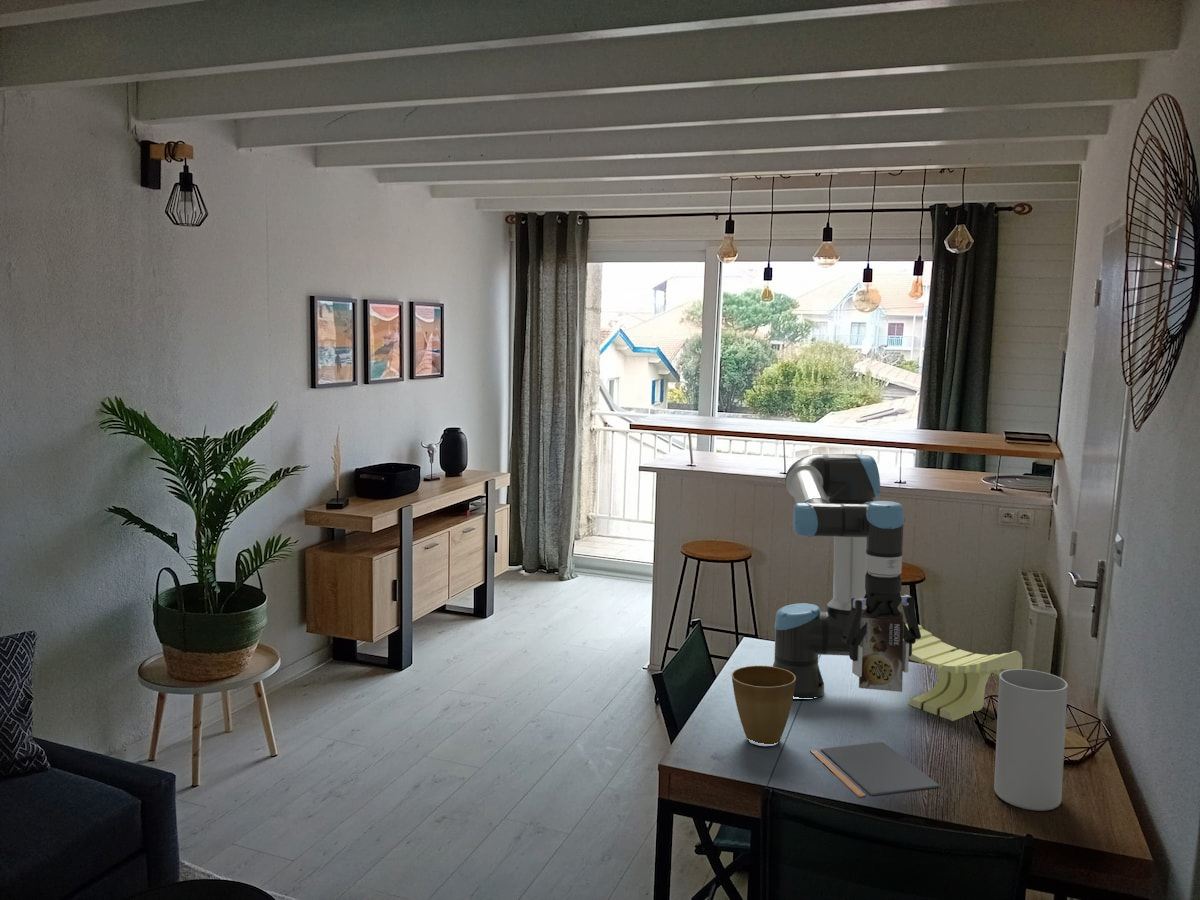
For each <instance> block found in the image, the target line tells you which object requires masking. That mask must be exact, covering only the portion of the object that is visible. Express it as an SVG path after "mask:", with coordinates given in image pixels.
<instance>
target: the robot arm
mask: <svg viewBox="0 0 1200 900" xmlns="http://www.w3.org/2000/svg"><path fill="white" fill-rule="evenodd" d="M784 480H785V482H784V483H785V487H786V490H787V492H788V493H789V495H790V496H791V497H793V498H794V499H793V500H794V501H795V503H794V505H793V507H792V529H793V533H794V534H795V535H796V536H802V537H803V536H805V537H833V578H832V579H833V580H832V583H833V586H832V588H833V589H832V590H833V591H832V595H833V596H832V599H830V600H829V602H828V603H827V605H826V608H827V609H826V610H821V609H820V607H819V606H818V605H816V604H814V603H806V602H803V603H801V602H800V603H791V604H789V605H785V606H784V605H783V606H782V607H780V608H779V609H778V610H777V611H776V614H775V623H774V629H775V631H774V632H775V633H774V661H773V665H772V667H777V668H782V669H785V670H788V671H790V672H792V673H793V674H794V675H795V676H796V682H795V689H794V695H793V696H794V697H799V698H814V697H819V696H821V695H822V694H823V693H824V694H825V683H824V679H823V676H822V673H821V670H820V666H819V655H822V656H847V657H849V658H850V659H849V660H851V661H852V668H851V669H852V672H851V673H852V674H854V675H855V676H856V677H858V678H859V677H862V651H863V647H861V646H860V643H861V641H862V640H863V638H864V636H865V635H866V631H867V623H866V624H865V625H864V626H863V627H862V629H860V616H861V613H862V609H865V611H864V612H863V613H864V614H865V615H867V616H868V617H870V618H875V617H878V616H882V615H891V614H894V615H901V614H900V612H901V611H900V610H899V609H898V607H899V606H900V605H902V609H903V615H904V616H905V617H904V619H905V621H906V623H905V622H904V629H903V639H904V640H903V673H905V674H906V673H909V660H910V659H909V656H911V655H912V644H914V643H915V642H916V639H920V638H921V634H920V630H919V626H918V625H919V623H918V620H917V615H916V612H915V607H914V604H915V603H914V602H915V599H914V597H913V596H911V595H909V594H907V593H905V594H903V595H901V592H902V578H903V577H902V575H901V574H902V572H903V571H902V570H903V568H902V567H903V545H904V527H905V526H904V523H905V516H904V515H905V514H904V512H905V511H904V508H905V507H904V506H903V505H902V504H901V503H900V502H895V501H890V500H889V501H888V500H876V499H879V498H880V496H881V479H880V472H879V467H878V464H877V461H876V460H875V458H874V457H873V456H872V455H870V454H869V455H868V454H857V453H855V454H854V453H853V454H852V453H851V454H850V453H845V454H844V453H843V454H841V453H837V454H835V453H833V454H832V453H826V454H825V453H815V454H810V455H806V456H803V457H802V458H800V459H798V460H796V461H795V462H794V463H792V465H791V466H790V467H789V468H788V470H787V471H786V473H785V478H784ZM874 499H875V500H874ZM868 613H872V614H871V615H870V614H868ZM906 624H907V625H908V628H907V626H906ZM908 629H909V630H908ZM824 694H823V695H824ZM823 695H822V696H823ZM822 696H821V697H822ZM819 698H820V697H819Z"/></svg>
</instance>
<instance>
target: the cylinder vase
mask: <svg viewBox="0 0 1200 900" xmlns="http://www.w3.org/2000/svg"><path fill="white" fill-rule="evenodd" d="M1068 687H1069V684H1068V682H1067V681H1066V680H1065V679H1064V678H1062V677H1060V676H1057V675H1054V674H1053V673H1048V672H1046V671H1045V672H1044V671H1039V670H1035V669H1027V668H1026V669H1023V668H1022V669H1011V670H1006V671H1003V672H1001V673H1000V674H999V675H998V696H997V697H998V698H997V699H998V701H997V717H996V718H997V720H996V737H995V739H996V741H995V764H994V778H993V779H994V784H993V786H994V787H993V790H994V792H995V794H996V796H998V798H1000V799H1001V800H1002V801H1004V802H1005V803H1007V804H1009V805H1011V806H1014V807H1017V808H1020V809H1023V810H1029V811H1037V812H1038V811H1040V812H1044V811H1045V812H1046V811H1050V810H1055V809H1056V808H1058V807H1059V806H1060V805H1061V803H1062V799H1063V798H1062V795H1063V778H1064V760H1065V759H1064V757H1065V744H1066V743H1065V741H1066V722H1067V708H1068V707H1067V703H1068Z"/></svg>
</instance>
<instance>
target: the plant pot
mask: <svg viewBox="0 0 1200 900" xmlns="http://www.w3.org/2000/svg"><path fill="white" fill-rule="evenodd" d="M731 682H732V687H733V694H734V699H735V704H736V708H737V709H736V710H737V713H738V716H739V719H740V723H741V726H742V728H743V732H744V734H745V738H746V739H747V738H748V739H750V740H753V741H755V742H758V743H764V744H774V743H777V742H779V743H780V741H781V739H782V736H783V733H784V732H785V729H786V726H787V722H788V720H789V715H790V711H791V708H792V704H793V701H794V700H793V695H794V689H795V682H796V676H795V675H794V674H793V673H792V672H790V671H788V670H785V669H782V668H777V667H773V665H772V666H771V665H770V666H769V665H748V666H742V667H739V668H737V669H735V670H734V671H732V672H731Z"/></svg>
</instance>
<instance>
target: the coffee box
mask: <svg viewBox="0 0 1200 900" xmlns="http://www.w3.org/2000/svg"><path fill="white" fill-rule="evenodd" d="M864 611H865V609H862V613H861V616H860V629H862V627H863V626H864V625H865V624H866V623H867V631H866V635H865V636H864V638H863V640H862V641H861V643H860V646H861V647H863V651H862V677H858V688H859V689H865V690H877V691H886V692H887V691H888V692H899V693H902V692H903V678H904V677H903V675H904V672H903V629H904V623H905V620H904V619H905V617H904V611H899V612H900V614H901V615H894V614H891V615H882V616H878V617H875V618H870V617H868V616H867V615H865V614H864V613H863V612H864ZM868 614H870V615H871V614H872V613H868Z"/></svg>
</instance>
